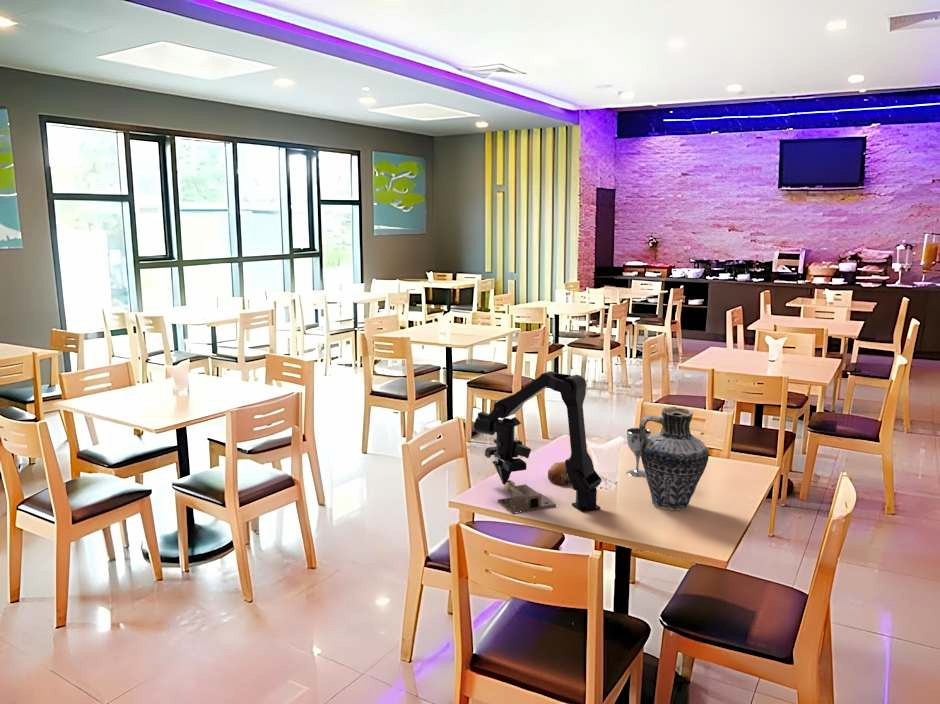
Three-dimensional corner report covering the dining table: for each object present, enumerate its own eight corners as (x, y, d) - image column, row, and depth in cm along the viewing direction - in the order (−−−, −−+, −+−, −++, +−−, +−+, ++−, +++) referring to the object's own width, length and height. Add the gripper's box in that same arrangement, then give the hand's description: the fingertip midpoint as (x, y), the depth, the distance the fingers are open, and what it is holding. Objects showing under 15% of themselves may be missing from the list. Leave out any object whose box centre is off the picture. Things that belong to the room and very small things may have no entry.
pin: (531, 501, 231) (531, 491, 230) (521, 503, 230) (521, 493, 229) (513, 489, 241) (513, 479, 241) (504, 490, 240) (504, 480, 240)
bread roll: (577, 488, 255) (577, 464, 258) (578, 485, 246) (578, 460, 248) (547, 486, 256) (548, 463, 258) (547, 483, 246) (548, 459, 249)
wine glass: (631, 478, 255) (633, 434, 252) (621, 470, 262) (623, 428, 260) (653, 476, 256) (655, 433, 254) (642, 469, 264) (644, 427, 262)
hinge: (555, 506, 229) (556, 492, 228) (512, 513, 223) (512, 499, 222) (539, 495, 238) (540, 482, 237) (497, 502, 232) (497, 488, 231)
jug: (685, 492, 241) (690, 400, 236) (717, 515, 222) (724, 416, 217) (624, 497, 237) (628, 403, 232) (652, 521, 218) (657, 419, 213)
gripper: (541, 442, 236) (540, 490, 238) (514, 427, 253) (514, 472, 255) (509, 446, 231) (509, 495, 234) (484, 431, 248) (484, 476, 251)
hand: (504, 484), depth 244 cm, fingers closed
